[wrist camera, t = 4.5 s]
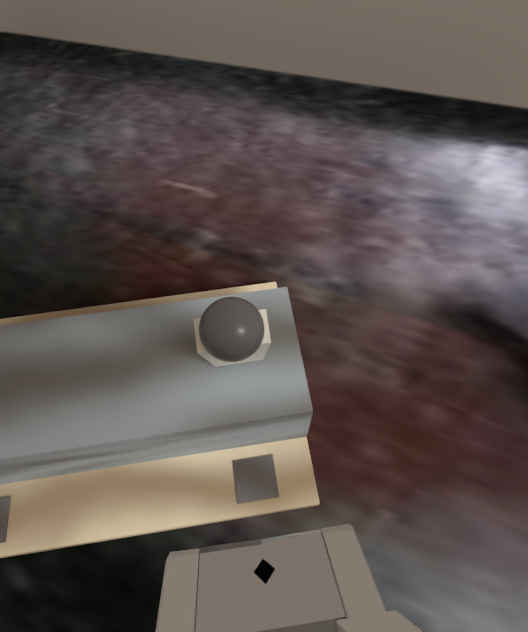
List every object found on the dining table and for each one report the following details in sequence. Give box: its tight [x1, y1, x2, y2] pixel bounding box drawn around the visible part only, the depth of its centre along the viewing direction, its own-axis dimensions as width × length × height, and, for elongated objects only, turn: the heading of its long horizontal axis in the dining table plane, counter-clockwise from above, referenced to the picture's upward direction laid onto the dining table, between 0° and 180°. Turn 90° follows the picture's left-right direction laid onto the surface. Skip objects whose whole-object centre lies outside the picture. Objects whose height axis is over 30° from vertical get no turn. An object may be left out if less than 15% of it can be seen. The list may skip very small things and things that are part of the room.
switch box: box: [0, 282, 320, 558], centre depth 31 cm, size 18×26×7 cm
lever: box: [193, 297, 271, 367], centre depth 22 cm, size 3×3×12 cm
